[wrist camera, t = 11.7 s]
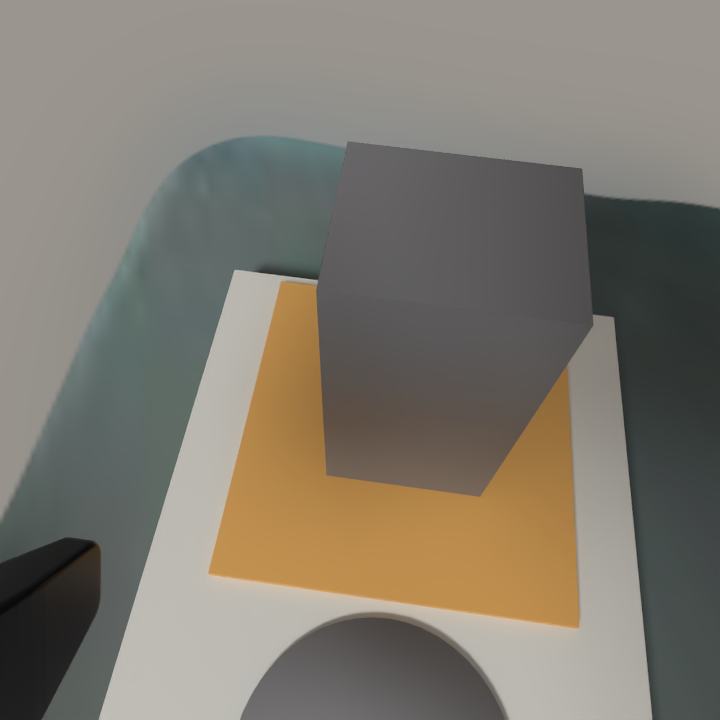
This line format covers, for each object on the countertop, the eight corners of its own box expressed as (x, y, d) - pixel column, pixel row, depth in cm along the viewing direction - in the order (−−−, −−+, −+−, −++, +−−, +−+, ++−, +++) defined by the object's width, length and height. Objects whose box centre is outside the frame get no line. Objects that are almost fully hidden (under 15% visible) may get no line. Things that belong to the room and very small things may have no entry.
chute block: (480, 496, 19) (593, 325, 11) (326, 475, 20) (316, 289, 11) (484, 387, 21) (582, 168, 13) (344, 369, 22) (347, 141, 13)
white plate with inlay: (654, 1023, 15) (691, 1060, 13) (58, 920, 15) (26, 944, 14) (599, 337, 25) (616, 312, 23) (240, 292, 25) (233, 264, 24)
